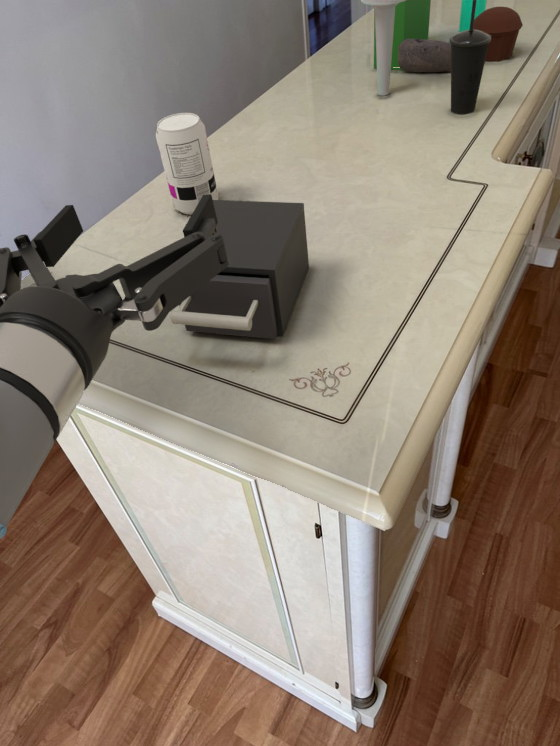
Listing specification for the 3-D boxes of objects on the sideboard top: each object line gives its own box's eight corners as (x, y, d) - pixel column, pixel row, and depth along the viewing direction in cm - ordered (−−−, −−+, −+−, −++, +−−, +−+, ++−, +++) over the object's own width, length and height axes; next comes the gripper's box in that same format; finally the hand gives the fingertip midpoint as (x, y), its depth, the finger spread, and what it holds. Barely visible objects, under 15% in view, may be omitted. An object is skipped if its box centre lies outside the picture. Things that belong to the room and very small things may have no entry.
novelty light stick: (356, 101, 132) (355, -31, 114) (366, 85, 138) (366, -43, 120) (401, 102, 129) (407, -33, 111) (409, 85, 135) (415, -45, 118)
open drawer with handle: (265, 365, 73) (255, 310, 67) (172, 356, 77) (155, 302, 70) (300, 273, 86) (295, 219, 80) (220, 268, 90) (209, 216, 83)
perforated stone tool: (463, 68, 139) (467, 35, 134) (460, 76, 136) (463, 43, 131) (400, 67, 144) (401, 35, 139) (395, 74, 141) (396, 43, 136)
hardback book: (400, 44, 156) (404, -67, 139) (427, 46, 153) (435, -68, 136) (373, 68, 145) (374, -49, 129) (402, 70, 142) (407, -50, 125)
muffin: (508, 45, 147) (516, -1, 140) (524, 59, 139) (533, 11, 132) (461, 51, 147) (466, 6, 140) (474, 66, 139) (480, 18, 132)
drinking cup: (436, 109, 124) (444, 1, 110) (465, 99, 126) (477, -9, 112) (459, 120, 119) (472, 8, 105) (489, 110, 121) (505, -2, 107)
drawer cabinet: (283, 336, 78) (274, 269, 71) (188, 327, 82) (169, 263, 74) (309, 267, 89) (303, 202, 81) (223, 262, 92) (210, 199, 85)
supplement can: (165, 210, 106) (143, 128, 95) (194, 189, 110) (176, 108, 100) (199, 220, 102) (180, 135, 92) (228, 198, 107) (213, 114, 96)
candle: (472, 44, 150) (479, -10, 142) (453, 40, 153) (458, -13, 145) (486, 37, 153) (493, -17, 144) (466, 34, 156) (472, -19, 147)
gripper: (-93, 402, 44) (38, 255, 59) (226, 404, 38) (278, 242, 54) (-156, 321, 39) (4, 185, 55) (198, 311, 34) (264, 162, 49)
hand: (141, 213), depth 54 cm, fingers open, 13 cm apart
